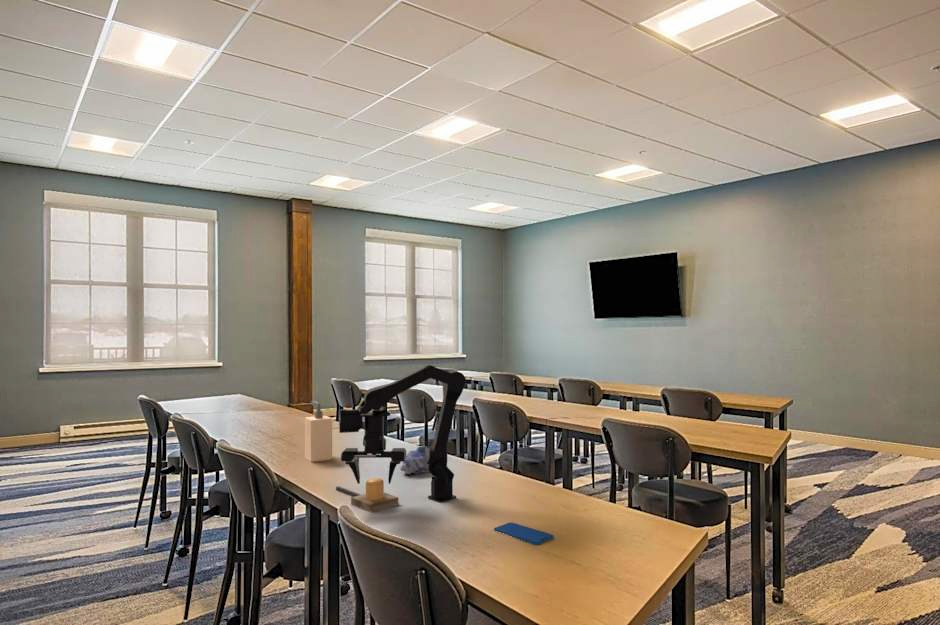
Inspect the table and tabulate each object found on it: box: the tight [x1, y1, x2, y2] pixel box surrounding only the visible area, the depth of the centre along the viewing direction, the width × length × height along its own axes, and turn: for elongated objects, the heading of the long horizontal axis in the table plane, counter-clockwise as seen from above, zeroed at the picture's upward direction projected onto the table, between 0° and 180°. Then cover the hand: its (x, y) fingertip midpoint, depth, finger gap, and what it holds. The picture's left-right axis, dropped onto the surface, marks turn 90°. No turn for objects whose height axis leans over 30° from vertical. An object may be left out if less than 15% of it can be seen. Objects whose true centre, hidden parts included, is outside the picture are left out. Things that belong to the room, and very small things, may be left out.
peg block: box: [350, 492, 399, 512], centre depth 173 cm, size 10×10×6 cm
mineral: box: [399, 445, 429, 475], centre depth 210 cm, size 14×10×10 cm
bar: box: [335, 485, 362, 497], centre depth 182 cm, size 16×1×1 cm, turn 44°
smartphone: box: [493, 522, 554, 546], centre depth 148 cm, size 7×1×15 cm
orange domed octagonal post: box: [365, 477, 385, 500], centre depth 173 cm, size 5×5×5 cm
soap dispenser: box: [304, 400, 333, 463], centre depth 233 cm, size 13×9×22 cm
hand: (374, 483), depth 173 cm, fingers open, 9 cm apart
